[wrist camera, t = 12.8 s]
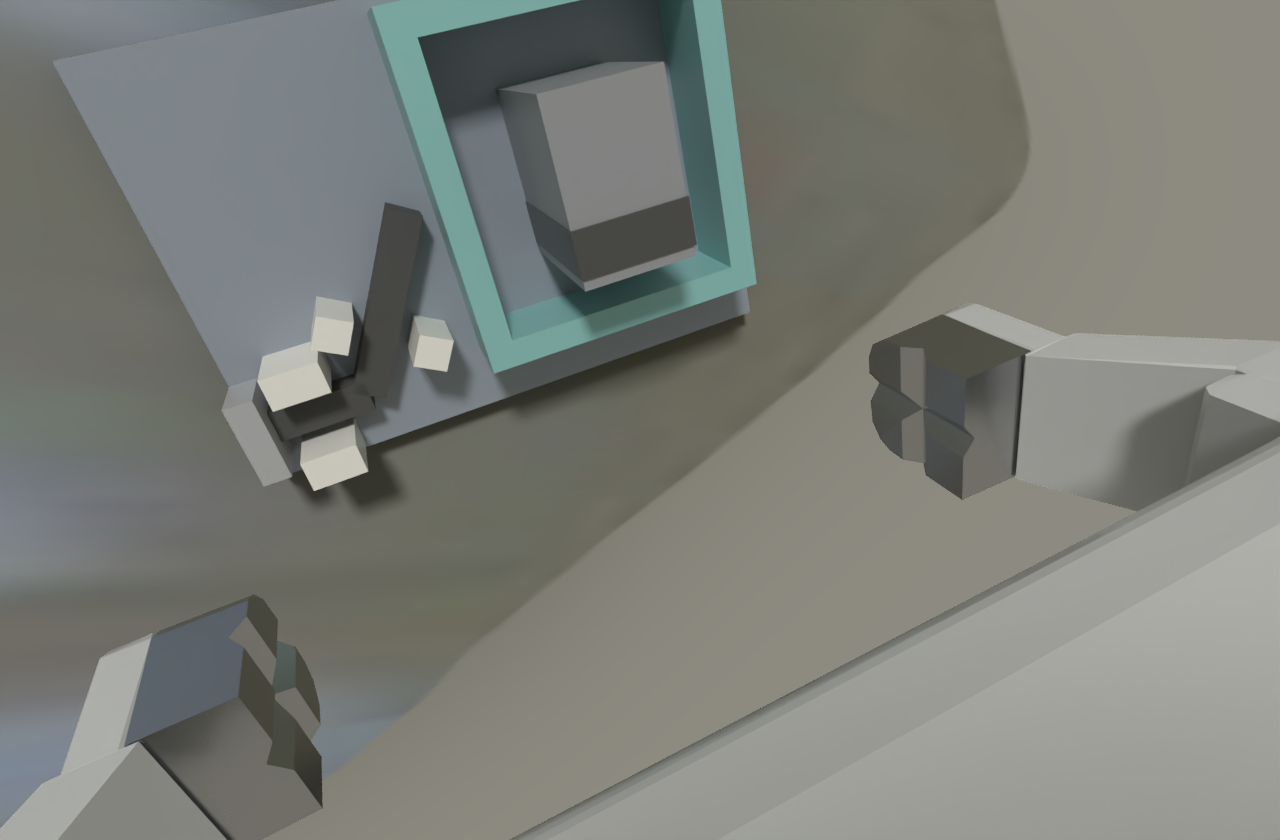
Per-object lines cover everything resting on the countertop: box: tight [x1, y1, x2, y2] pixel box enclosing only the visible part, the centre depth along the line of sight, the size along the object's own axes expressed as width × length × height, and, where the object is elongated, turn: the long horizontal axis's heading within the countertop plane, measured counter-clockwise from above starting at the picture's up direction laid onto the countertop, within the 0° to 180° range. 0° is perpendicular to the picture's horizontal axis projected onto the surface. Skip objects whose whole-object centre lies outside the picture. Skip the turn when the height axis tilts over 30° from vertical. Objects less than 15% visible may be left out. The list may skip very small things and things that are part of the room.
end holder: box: [367, 0, 756, 374], centre depth 27 cm, size 12×11×3 cm
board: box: [52, 0, 750, 491], centre depth 27 cm, size 15×21×4 cm
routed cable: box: [267, 202, 423, 442], centre depth 27 cm, size 4×10×1 cm, turn 142°
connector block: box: [496, 62, 697, 292], centre depth 25 cm, size 6×4×6 cm
